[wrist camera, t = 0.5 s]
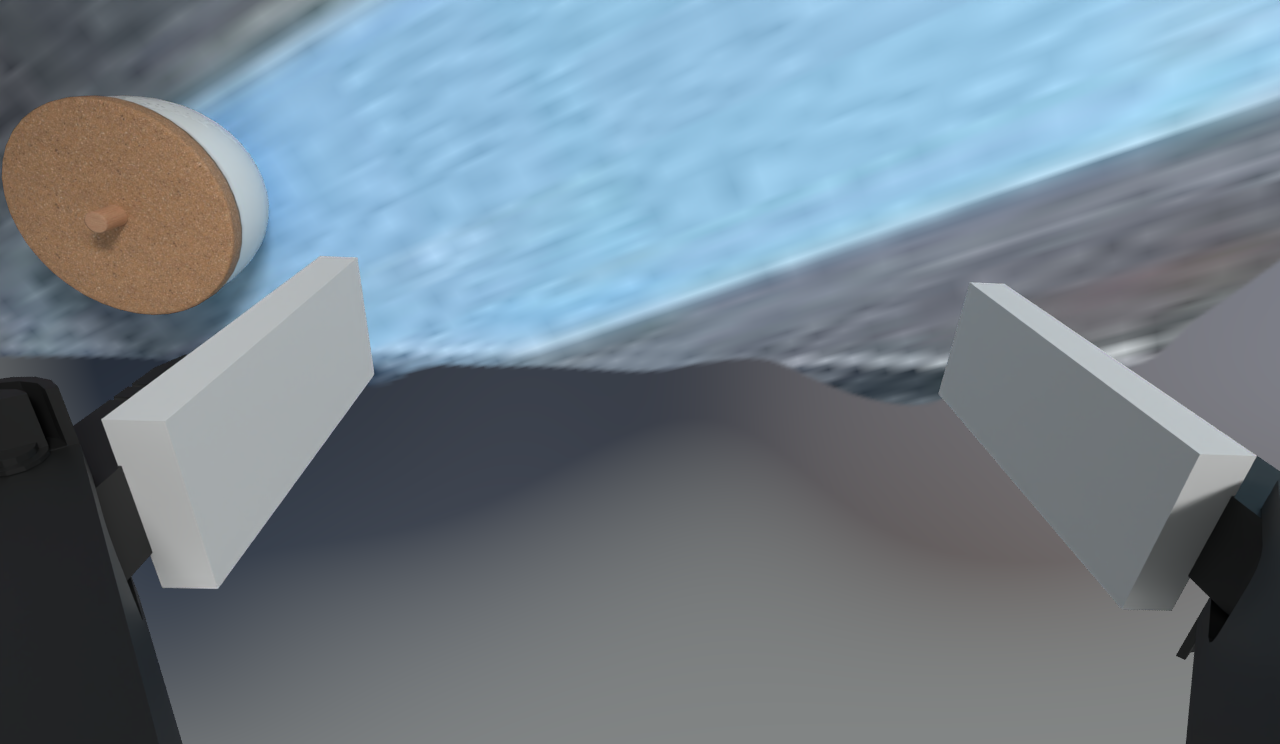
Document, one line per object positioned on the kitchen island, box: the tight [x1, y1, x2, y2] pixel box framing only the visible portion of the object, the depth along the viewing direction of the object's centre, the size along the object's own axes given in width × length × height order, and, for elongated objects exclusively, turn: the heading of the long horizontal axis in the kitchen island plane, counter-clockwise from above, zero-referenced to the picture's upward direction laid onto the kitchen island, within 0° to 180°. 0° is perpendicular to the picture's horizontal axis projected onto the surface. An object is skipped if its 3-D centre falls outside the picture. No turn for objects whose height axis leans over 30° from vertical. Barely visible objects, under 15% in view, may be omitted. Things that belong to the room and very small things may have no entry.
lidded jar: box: [2, 95, 269, 315], centre depth 36 cm, size 11×11×9 cm
